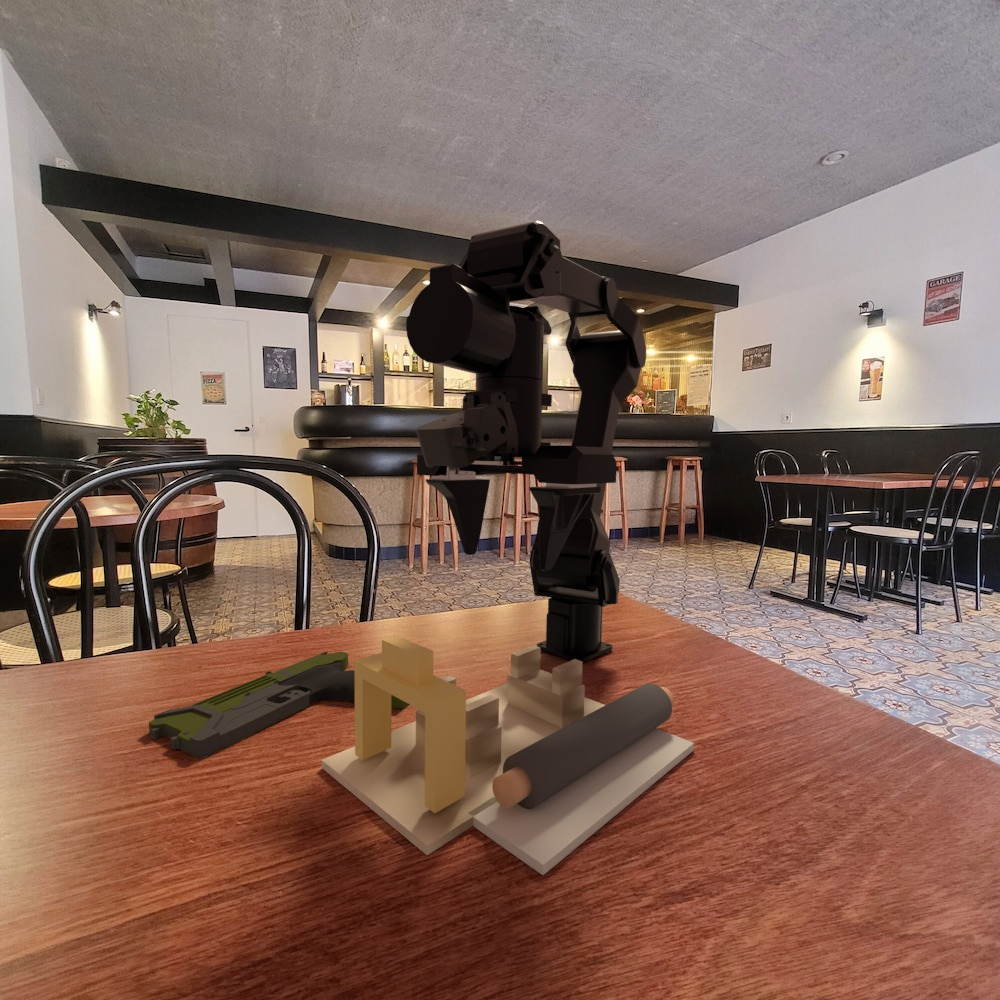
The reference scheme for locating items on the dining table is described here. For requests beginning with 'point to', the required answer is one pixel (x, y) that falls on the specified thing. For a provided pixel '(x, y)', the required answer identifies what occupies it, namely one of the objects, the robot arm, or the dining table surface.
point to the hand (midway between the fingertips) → (505, 561)
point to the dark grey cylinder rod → (580, 747)
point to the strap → (413, 682)
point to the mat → (581, 802)
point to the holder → (488, 743)
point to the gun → (257, 705)
